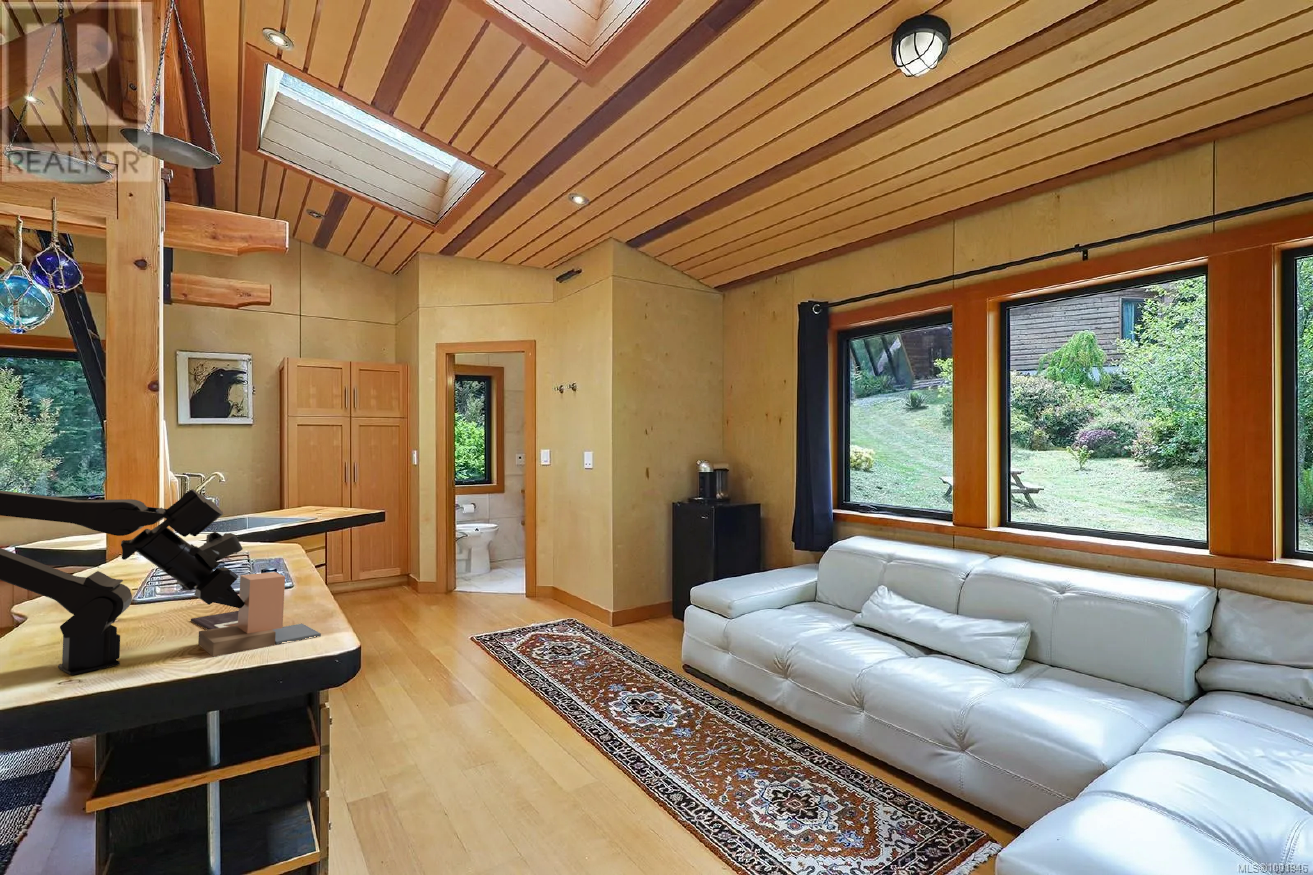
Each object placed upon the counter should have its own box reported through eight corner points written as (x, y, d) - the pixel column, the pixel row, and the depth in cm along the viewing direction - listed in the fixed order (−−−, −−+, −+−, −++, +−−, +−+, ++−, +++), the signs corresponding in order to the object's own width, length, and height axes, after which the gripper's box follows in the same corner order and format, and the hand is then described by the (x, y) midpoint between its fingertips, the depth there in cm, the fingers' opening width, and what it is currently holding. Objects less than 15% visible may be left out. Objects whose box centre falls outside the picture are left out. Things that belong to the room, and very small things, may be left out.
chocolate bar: (238, 610, 144) (272, 625, 133) (238, 614, 144) (272, 630, 133) (190, 618, 137) (223, 635, 126) (190, 623, 137) (222, 639, 126)
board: (213, 656, 115) (213, 642, 115) (198, 644, 121) (198, 631, 121) (275, 645, 122) (275, 631, 122) (258, 634, 129) (258, 621, 129)
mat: (276, 644, 122) (276, 641, 122) (259, 633, 129) (259, 630, 129) (320, 636, 128) (320, 633, 128) (302, 626, 135) (302, 623, 135)
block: (247, 633, 120) (250, 580, 121) (237, 627, 125) (240, 575, 125) (282, 628, 125) (285, 576, 125) (272, 621, 129) (274, 571, 129)
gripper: (225, 524, 112) (293, 579, 120) (198, 515, 125) (261, 565, 133) (169, 576, 106) (243, 629, 114) (146, 561, 119) (215, 610, 127)
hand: (242, 606), depth 122 cm, fingers closed
